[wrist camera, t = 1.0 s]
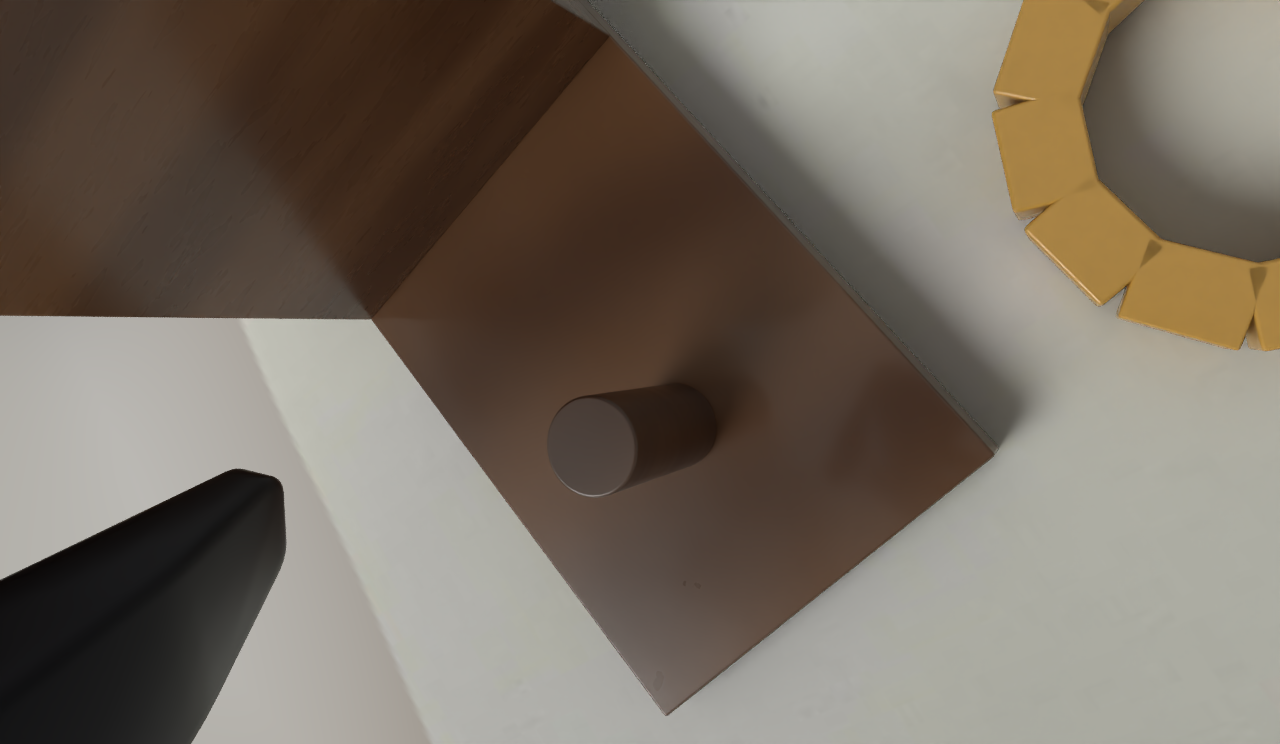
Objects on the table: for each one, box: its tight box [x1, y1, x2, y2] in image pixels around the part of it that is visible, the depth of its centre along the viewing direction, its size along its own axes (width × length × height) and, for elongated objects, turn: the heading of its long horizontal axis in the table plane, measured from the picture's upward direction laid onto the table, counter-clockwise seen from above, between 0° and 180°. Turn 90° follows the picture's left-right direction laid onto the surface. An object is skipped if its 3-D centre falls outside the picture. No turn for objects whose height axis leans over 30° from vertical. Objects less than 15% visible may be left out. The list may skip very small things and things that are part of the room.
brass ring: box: [992, 0, 1280, 351], centre depth 18 cm, size 9×9×2 cm
